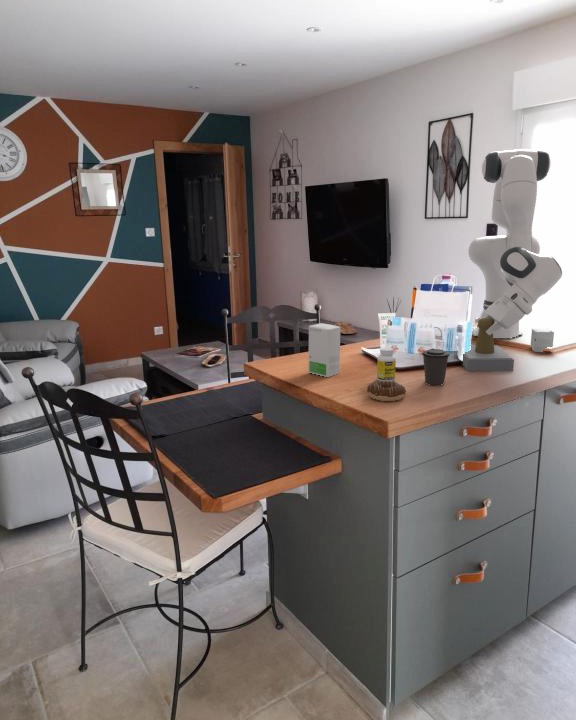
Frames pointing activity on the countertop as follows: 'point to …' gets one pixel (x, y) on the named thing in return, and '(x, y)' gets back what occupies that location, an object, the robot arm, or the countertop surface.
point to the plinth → (488, 360)
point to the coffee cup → (435, 366)
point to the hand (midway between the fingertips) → (483, 330)
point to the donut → (386, 391)
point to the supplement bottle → (386, 365)
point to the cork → (485, 337)
